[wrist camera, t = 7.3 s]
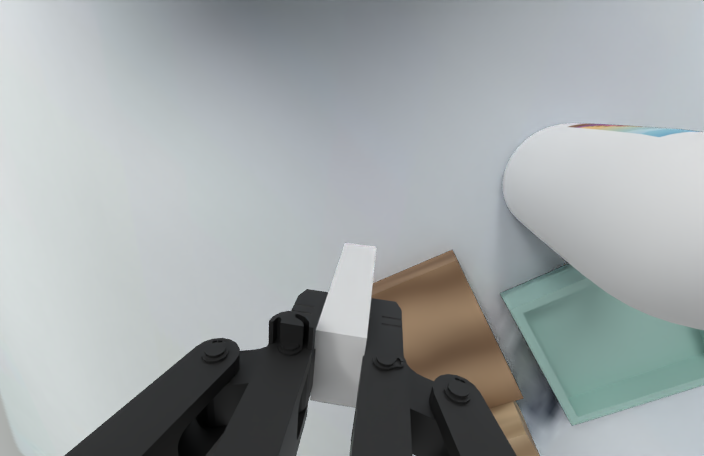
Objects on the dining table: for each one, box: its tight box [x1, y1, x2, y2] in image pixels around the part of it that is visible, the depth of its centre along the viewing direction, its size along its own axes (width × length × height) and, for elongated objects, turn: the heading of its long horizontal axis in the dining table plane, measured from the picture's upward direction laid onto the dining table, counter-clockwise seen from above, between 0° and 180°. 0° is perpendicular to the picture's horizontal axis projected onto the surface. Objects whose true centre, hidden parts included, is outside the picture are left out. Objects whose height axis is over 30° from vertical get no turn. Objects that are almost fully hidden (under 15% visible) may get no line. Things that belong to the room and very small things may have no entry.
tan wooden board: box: [371, 250, 523, 408], centre depth 29 cm, size 14×8×2 cm, turn 28°
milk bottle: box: [502, 123, 704, 330], centre depth 15 cm, size 8×8×20 cm
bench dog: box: [489, 401, 540, 456], centre depth 29 cm, size 3×5×5 cm, turn 121°
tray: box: [500, 264, 704, 426], centre depth 27 cm, size 12×12×2 cm
